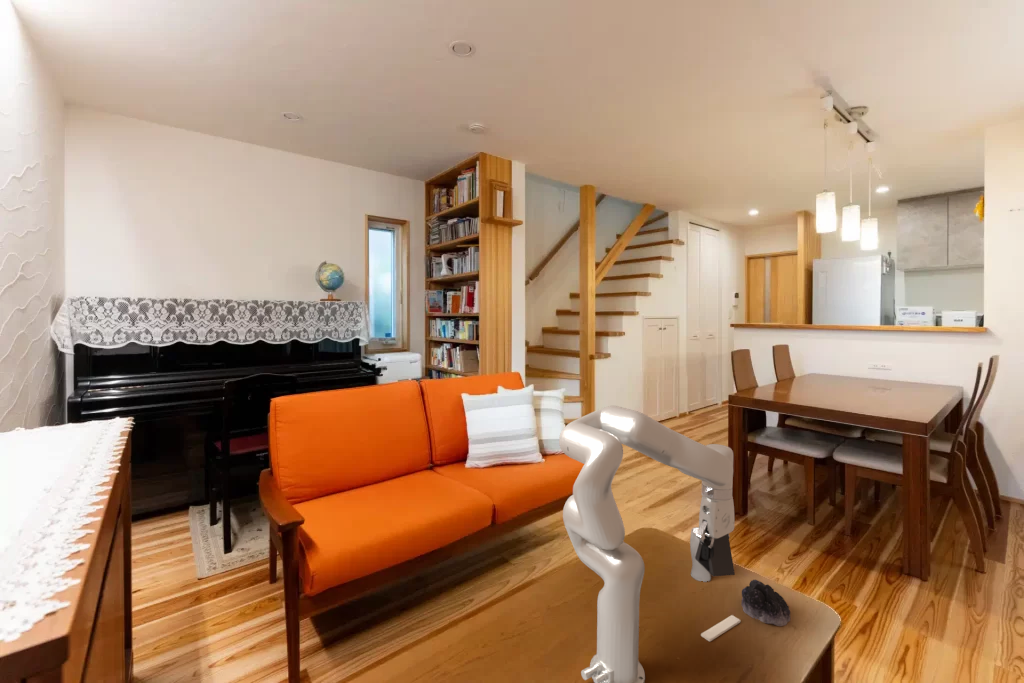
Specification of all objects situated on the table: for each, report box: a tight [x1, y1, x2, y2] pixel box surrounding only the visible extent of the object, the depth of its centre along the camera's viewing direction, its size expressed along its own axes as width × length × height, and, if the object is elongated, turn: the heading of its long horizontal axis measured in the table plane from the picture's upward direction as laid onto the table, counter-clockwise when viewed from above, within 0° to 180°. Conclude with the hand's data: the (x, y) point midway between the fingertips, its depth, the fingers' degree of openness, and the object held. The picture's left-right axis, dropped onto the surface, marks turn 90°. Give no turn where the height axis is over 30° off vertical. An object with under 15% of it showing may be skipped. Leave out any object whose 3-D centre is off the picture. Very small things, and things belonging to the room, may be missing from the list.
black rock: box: [741, 579, 791, 627], centre depth 127 cm, size 13×14×10 cm
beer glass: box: [689, 526, 712, 583], centre depth 144 cm, size 7×7×15 cm
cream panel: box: [700, 614, 741, 642], centre depth 120 cm, size 14×2×1 cm, turn 122°
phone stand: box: [695, 531, 736, 578], centre depth 121 cm, size 9×6×12 cm, turn 7°
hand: (714, 555), depth 121 cm, fingers closed on phone stand, 6 cm apart
